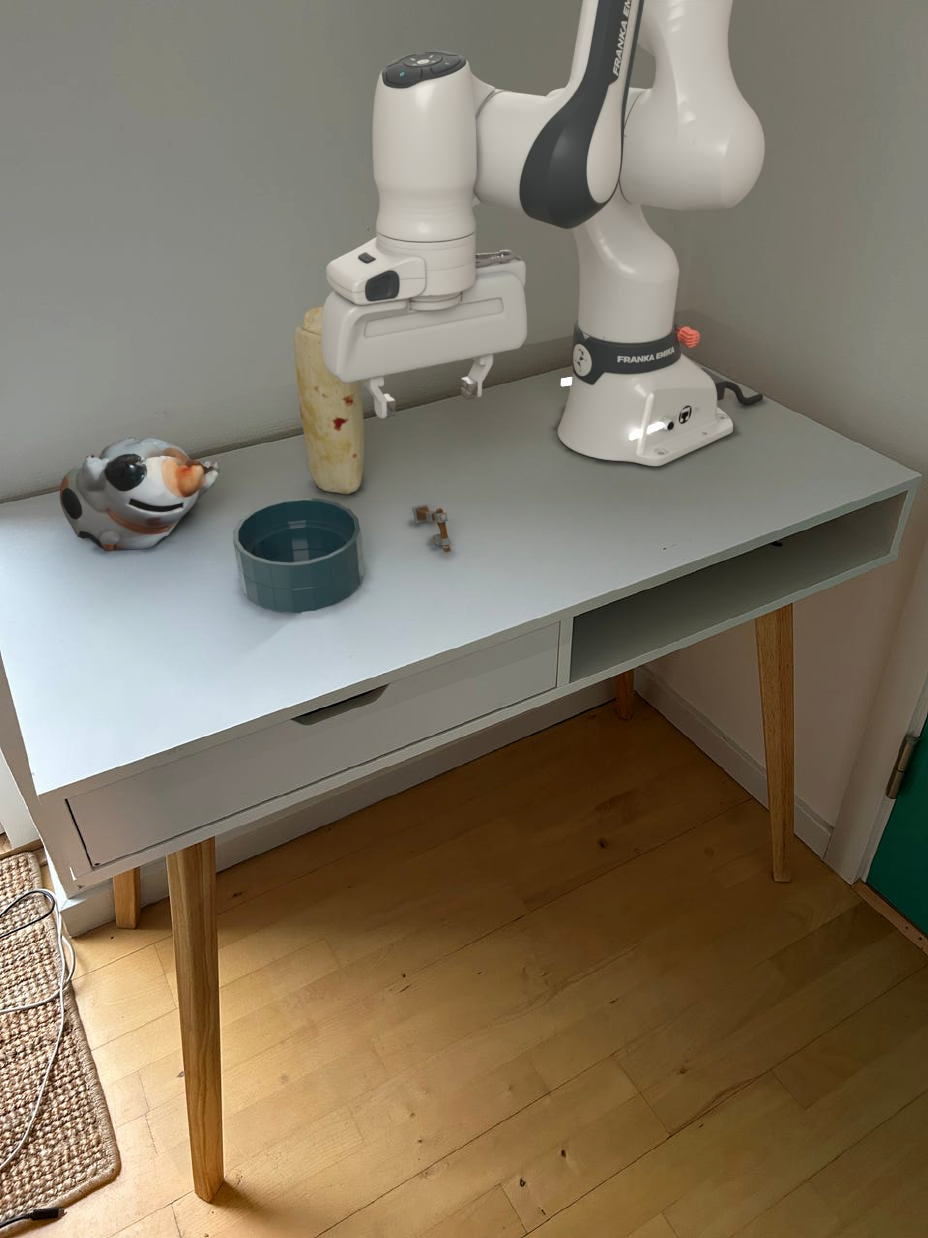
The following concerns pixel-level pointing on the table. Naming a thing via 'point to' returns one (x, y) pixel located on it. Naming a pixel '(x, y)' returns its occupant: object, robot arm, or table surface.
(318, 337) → the food model
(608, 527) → the table surface
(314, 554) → the teal round bowl
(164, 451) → the lucky cat figurine
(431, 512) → the wooden post with brackets
